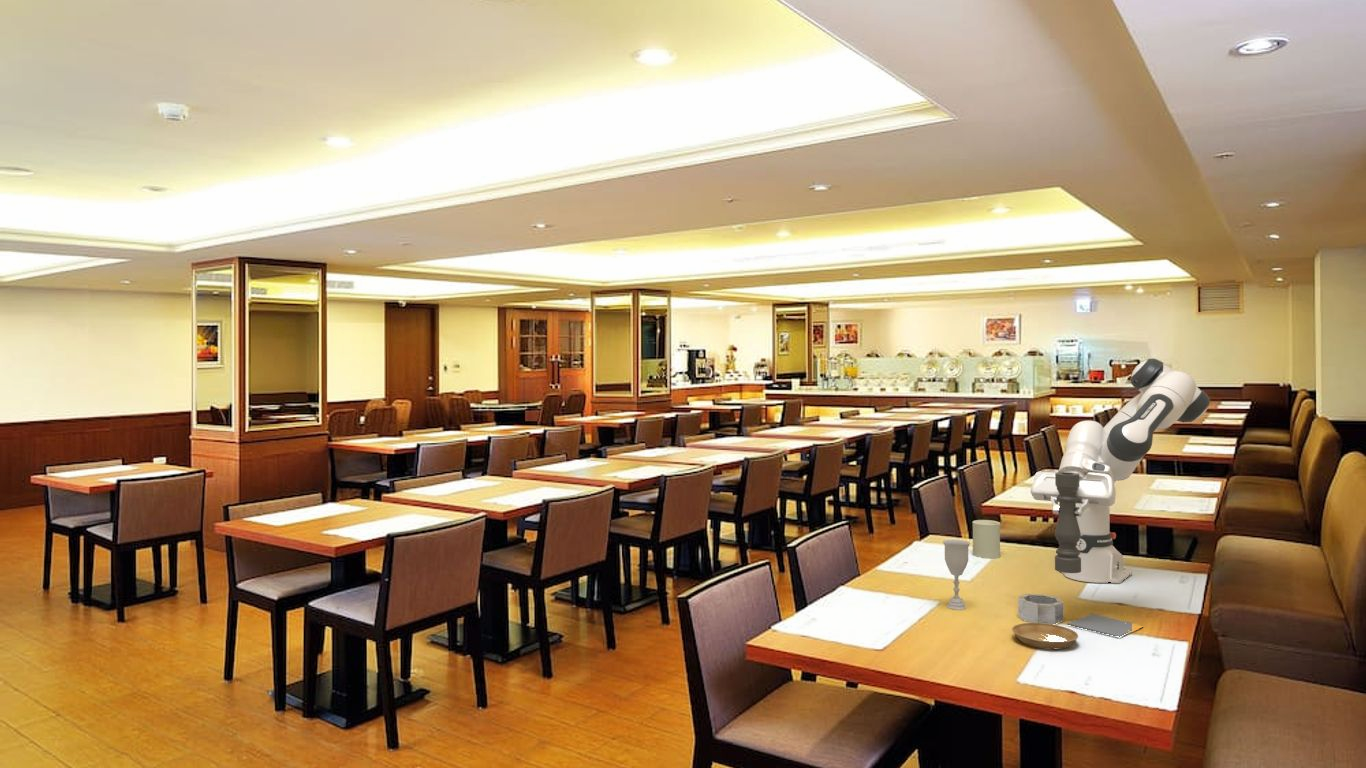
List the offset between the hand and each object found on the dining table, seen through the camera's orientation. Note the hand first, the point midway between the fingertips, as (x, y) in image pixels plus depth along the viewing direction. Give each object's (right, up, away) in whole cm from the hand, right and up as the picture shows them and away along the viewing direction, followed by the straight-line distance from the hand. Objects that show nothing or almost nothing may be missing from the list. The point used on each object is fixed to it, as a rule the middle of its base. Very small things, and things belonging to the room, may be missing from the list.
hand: (1066, 514), depth 217 cm
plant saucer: (-12, -29, -13) cm, 34 cm away
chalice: (-24, -28, +15) cm, 40 cm away
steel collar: (-5, -28, +4) cm, 29 cm away
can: (+6, -26, +75) cm, 80 cm away
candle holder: (+1, -15, +1) cm, 15 cm away
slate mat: (+8, -28, -3) cm, 30 cm away
